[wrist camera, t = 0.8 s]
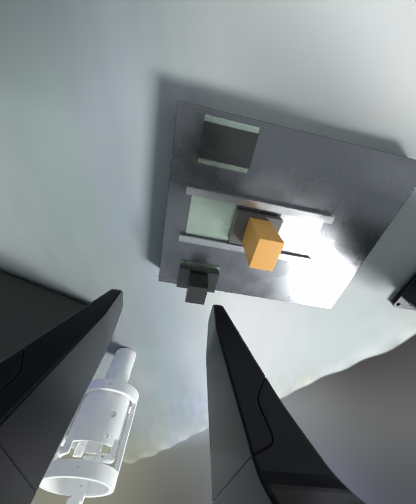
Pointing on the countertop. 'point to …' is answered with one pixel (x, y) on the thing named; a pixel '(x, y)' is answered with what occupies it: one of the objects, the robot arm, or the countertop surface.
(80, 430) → the white stepped cylinder
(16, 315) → the dark rounded block
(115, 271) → the countertop surface
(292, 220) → the breaker panel
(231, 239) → the block
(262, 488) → the robot arm
